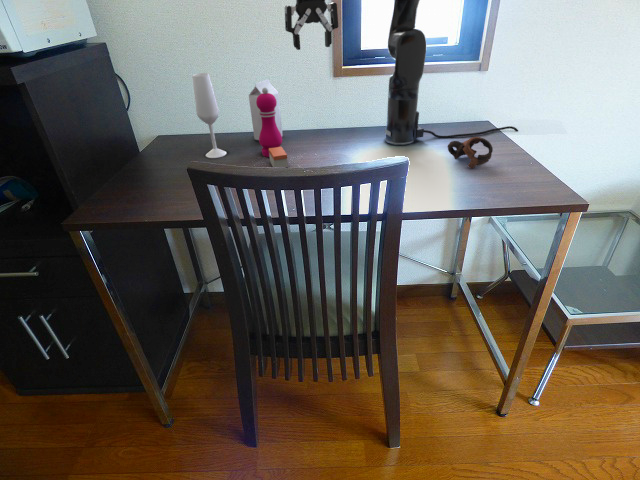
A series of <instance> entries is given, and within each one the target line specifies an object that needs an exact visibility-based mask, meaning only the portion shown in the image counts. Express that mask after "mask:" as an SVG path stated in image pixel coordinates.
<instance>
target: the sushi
mask: <svg viewBox="0 0 640 480" xmlns="http://www.w3.org/2000/svg"><path fill="white" fill-rule="evenodd" d="M269 156H270V157H269V163H270V164H271V166H272V168H273V167H288V168H289V164H288V154H287V152H286V151H285V150H284V148H283V147H282V146H281V147H275V148H269Z"/></svg>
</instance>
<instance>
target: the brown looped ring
mask: <svg viewBox="0 0 640 480" xmlns="http://www.w3.org/2000/svg"><path fill="white" fill-rule="evenodd" d="M479 143H482V146H483V147H484V148H487V150H488V152H487V153H486V154H478V155H477V156H475V155H476V154H477V152H478V151H477V150H475V149H473V148H472V147H473V146H474V145H477V144H479ZM493 148H494V147H493V145H492V144H491V142H490V141H488V139H486V138H484V137H481V136H473V137H472V136H471V137H470V138H468V139H467V140H465V141H462V142H461V141H458V140H452V141H450V142H449V143H448V144H447V151H448V152H449V154H450V155H452V156H453V158H454V159H455V160H457V159H459V158H460V157H463V156H467V158H468V159H469V160H470V162H468V164H467V167H468V168H470V169H474V168H476V167H479V166H481V165H484V164H486V163H488V162H489V160H491V159H492V153H493V151H494V149H493Z"/></svg>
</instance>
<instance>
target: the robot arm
mask: <svg viewBox="0 0 640 480" xmlns="http://www.w3.org/2000/svg"><path fill="white" fill-rule="evenodd" d="M420 1H421V0H393V8H392V15H391V21H390V27H389V31H388V35H387V36H388V37H387V43H386V45H387V51H388V54H389V56H390V57H391V58H392V59H393V60H395V62H394V69H393V70H394V71H393V74H392V75H390V76H389V78H388V89H387V91H388V93H387V107H386V108H387V109H386V125H385V127H386V128H384V134H385V137H384V140H385V142H386V143H387V144H389V145H393V146H408V145H411V144H413V143H416V142H417V140H418V139H419V138H424V133H426V134H430V135H432V136H434V137H435V138H439V139H449V138H450V139H451V138H457V137H458V138H459V137H470V136H471V137H472V136H480V135H485V134H487V133H488V134H489V133H491V132H496V131H497V132H498V131H503V130H509V129H511V130H514V131H515V132H519V130H518V128H517V127H516V126H512V125H511V126H509V125H508V126H502V127H497V128H491V129H488V130H487V129H486V130H483V131H478V132H471V133H470V132H469V133H458V134H457V133H456V134H450V135H439V134H436V133H435V132H434V131H432V130H428V129H425V128H423V127H421V126H420V125H419V120H420V112H419V111H418V102H419V93H420V92H419V91H420V82H421V79H422V77H423V75H424V69H425V62H426V56H427V47H428V46H427V37H426V35H425V33H424V31H422V30H421V29H419V28H417V27H416V22H417V14H418V7H419V4H420ZM327 11H328V13H329V15H330V22H329V20H328V19H327V17H326V16H325V13H326V12H327ZM295 13H296V14H297V16H298V17H297V19H296V21H295V24H294V26H293V18H292V17H293V16H294V14H295ZM312 23H313V24H318V23H320V25H321V26H322V27H323V28H324V30H325V31H324V47H326V48H330V47H331V45H332V44H333V37H332V36H333V35H332V34H333V33H332V31H333V30H336V29H338V28H339V15H338V4H337V2H330V3H326V0H296V1H295V6H294V5H292V6H291V5H285V6H284V29H285V31H286V32H288V33H291V34H292V43H293V44H292V45H293V47H294V48H295V49H296V50H297V51H300V50H301V37H300V31H301V29H302V28H303V26H304V25H305V24H308V25H309V24H312ZM417 138H418V139H417Z"/></svg>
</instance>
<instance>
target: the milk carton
mask: <svg viewBox="0 0 640 480" xmlns="http://www.w3.org/2000/svg"><path fill="white" fill-rule="evenodd" d="M263 88H267V89H268V93H270V94H272V95H274V97H275V98H276V101H277V105H276V107H275V110H276V115H275V122H276V126H277V128H278V130H279V131H280V133H281V136H282V138H283V125H282V115H281V113H282V112H281V104H280V93H279V91H278V90H277V89H276V88H275V87H274V85H272V83H271V82H270V79H269V78H268V79H264V80H261V81H258V82H254V87H253V89H252V90H251V92H249V94H248V100H249V108H250V115H251V123H252V130H253V137H254V140H255V141H259V136H260V132H261V129H262V119H261V116H260V115H259V114H260V113H259V111H260V109H259V108H258V107H257V104H256V100H257V97H258V96H259V95H260V94H263V92H262V89H263Z"/></svg>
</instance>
